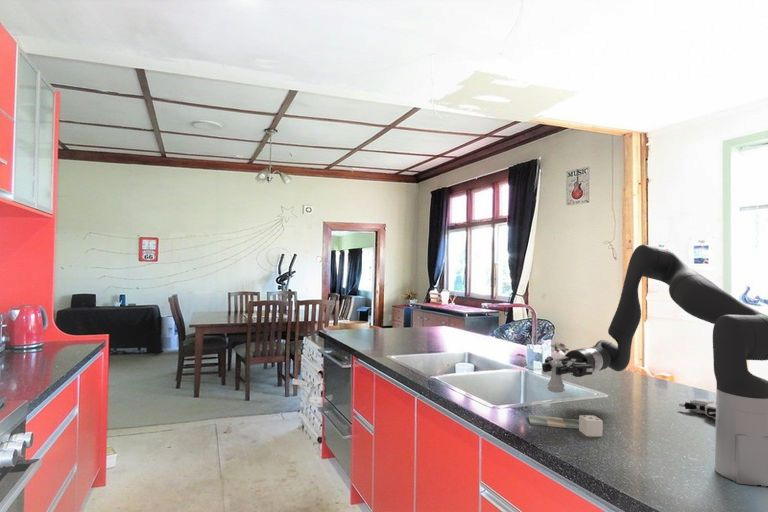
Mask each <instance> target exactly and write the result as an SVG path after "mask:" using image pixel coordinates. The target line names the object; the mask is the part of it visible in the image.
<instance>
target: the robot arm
mask: <svg viewBox="0 0 768 512" xmlns="http://www.w3.org/2000/svg"><path fill="white" fill-rule="evenodd" d="M643 277H645V278H648V279H653V280H656V281H660V282H662V283H664V284H666V285H667V286H668V293H669V296H670V298H671V299H672V301H673V302H674V303H675V304H676V305H677V306H678V307H679V308H681V309H682V310H683V311H684V312H685V313H687V314H689V315H691V316H692V317H695V318H697V319H699V320H702V321H705V322H707V323H710V324H712V325H713V329H712V351H713V353H712V354H713V355H712V356H713V373H714V377H715V380H716V381H715V382H716V393H715V396H716V397H715V403H716V420H715V432H714V433H715V438H714V441H715V442H714V443H715V444H714V454H715V455H714V470H715V472H716V473H717V474H719V475H721V476H722V477H724V478H726V479H729V480H731V481H733V482H736V484H738V485H739V484H741V485H749V486H757V485H761V486H760V487H766V486H768V380H767V379H765V378H762V377H760V376H756V375H754V374H753V373H751V371H749V369H748V362H747V361H762V362H763V361H768V315H766V314H764V313H763V312H760V311H758V310H757V309H754V308H753V307H750V306H748V305H746V304H744V302H741V301H740V300H738V299H736V297H734V296H732V295H731V294H729V293H728V292H726V291H725V290H724V289H722V288H720V287H719V286H718V285H717V284H715V283H714V282H712V281H711V280H710V279H708V278H706V277H705V276H704V275H702V274H700V273H698V271H695V269H692V268H691V267H689V266H688V265H687V264H686V263H684V262H683V260H681V259H680V257H679V256H678V255H676V254H675V253H674V252H673V251H671V250H668V249H665V248H660V247H657V246H653V245H648V244H640V245H638V246H637V247H636V248H635V249H634V250H633V252H632V253H631V256H630V259H629V262H628V265H627V270H626V274H625V277H624V280H623V286H622V288H621V293H620V299H619V300H618V301H619V302H618V305H617V308H616V310H615V313H614V315H613V317H612V320H611V322H610V324H609V327H608V329H607V330H608V331H607V333H608V335H609V336H610V337H611V338H612V339H613V340H614V341H615V342H616V344H617V345H616V344H614V343H612V342H611V341H608V340H606V339H605V340H604V339H600V340H598V341H597V342H596V343H595V345H593V346H591V347H583V348H582V347H581V348H577V349H572V350H569V351H568V352H567V353H566V354H565V355H564V356H562V357H559V358H554V357H552V356H550V355H549V356H547V357H546V358H545V359H544V363H543V364H542V366H541V370H542V373H543V372H544V373H548V372H549V373H550V372H552V371H551V369H552V366H551V365H550V363H551V362H552V360H553V362H554V360H556V362H557V360H559V362H560V361H561V363H562V364H563V365H561V366H557V367H556V375H561V376H562V375H567V376H568V375H571V376H573V377H575V378H582V377H585V376H591V375H594V374H596V373H597V372H601V371H602V370H605V369H607V368H610V369H611V370H613V371H615V372H622V371H624V370H625V369H626V368H627V367H628V365H629V364H630V362H631V352H632V351H631V350H632V346H633V345H632V344H633V339H634V336H635V334H636V333H637V332H636V331H637V330H638V327H639V325H640V323H641V319H642V310H641V304H640V299H639V285H640V282H641V280H642V278H643Z"/></svg>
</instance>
